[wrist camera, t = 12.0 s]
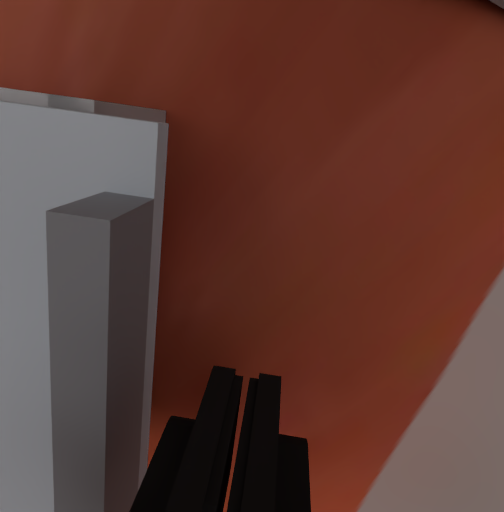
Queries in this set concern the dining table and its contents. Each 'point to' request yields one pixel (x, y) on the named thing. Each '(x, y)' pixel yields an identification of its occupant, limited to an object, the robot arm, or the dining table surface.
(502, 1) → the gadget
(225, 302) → the dining table surface
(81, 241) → the lid
